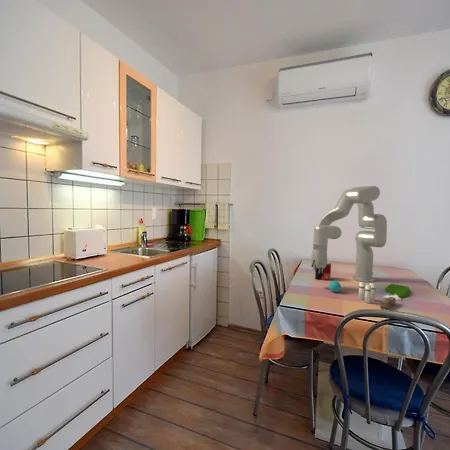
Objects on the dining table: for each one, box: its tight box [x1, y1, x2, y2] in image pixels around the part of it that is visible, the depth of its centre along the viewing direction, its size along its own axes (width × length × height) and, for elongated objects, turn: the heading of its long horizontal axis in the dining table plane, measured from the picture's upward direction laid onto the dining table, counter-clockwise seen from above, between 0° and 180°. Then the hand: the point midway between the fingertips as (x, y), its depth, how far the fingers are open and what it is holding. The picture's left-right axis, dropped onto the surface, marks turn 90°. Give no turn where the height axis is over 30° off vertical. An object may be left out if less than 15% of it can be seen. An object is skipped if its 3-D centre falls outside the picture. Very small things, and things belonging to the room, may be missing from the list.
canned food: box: [321, 260, 332, 281], centre depth 167 cm, size 8×8×11 cm
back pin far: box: [369, 282, 376, 302], centre depth 128 cm, size 2×2×8 cm
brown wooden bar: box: [380, 297, 396, 310], centre depth 120 cm, size 12×2×3 cm, turn 129°
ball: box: [328, 280, 342, 293], centre depth 141 cm, size 6×6×6 cm
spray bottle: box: [383, 283, 411, 302], centre depth 139 cm, size 3×11×24 cm
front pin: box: [358, 281, 366, 301], centre depth 130 cm, size 2×2×8 cm
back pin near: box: [364, 283, 371, 304], centre depth 125 cm, size 2×2×8 cm
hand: (318, 279), depth 148 cm, fingers closed
